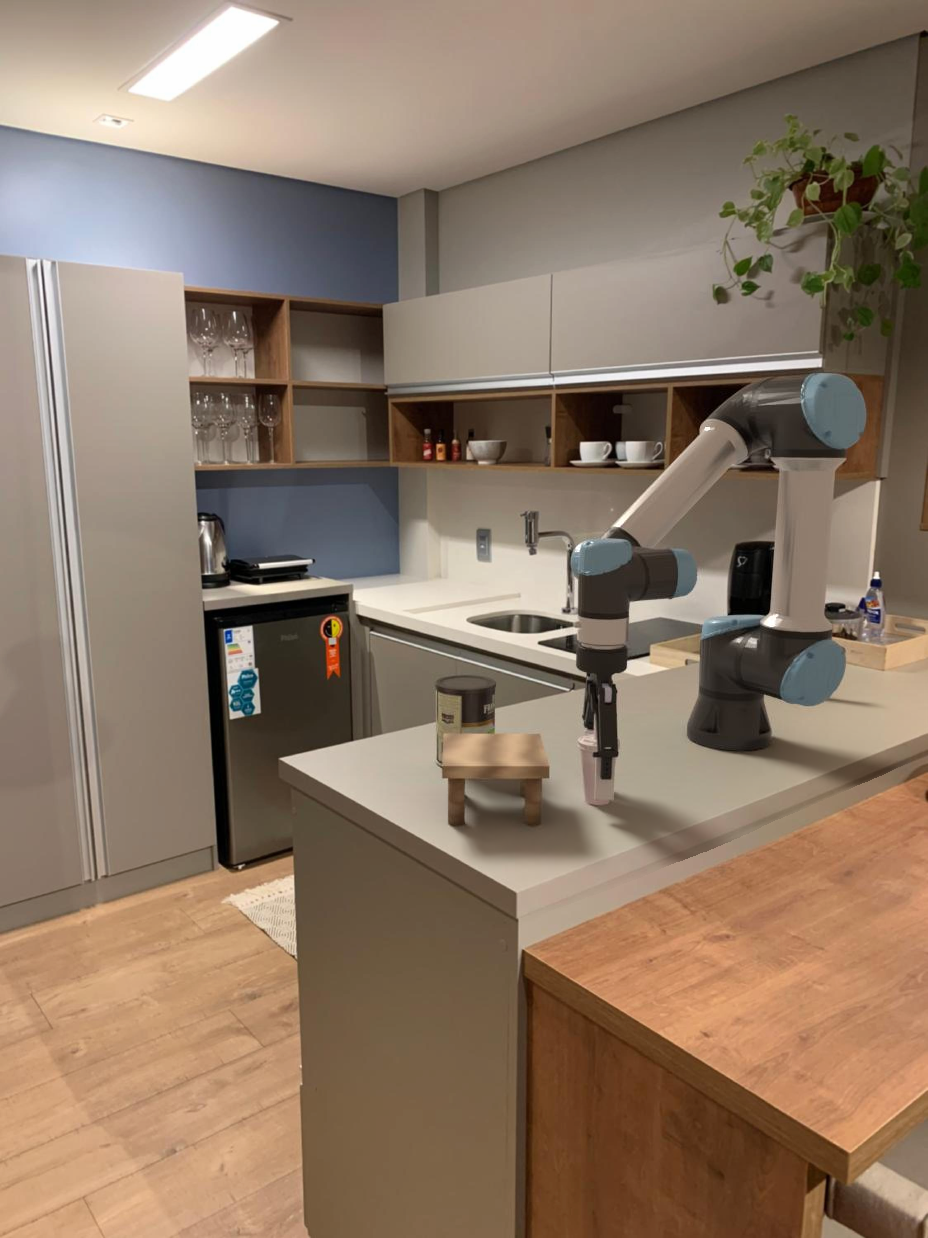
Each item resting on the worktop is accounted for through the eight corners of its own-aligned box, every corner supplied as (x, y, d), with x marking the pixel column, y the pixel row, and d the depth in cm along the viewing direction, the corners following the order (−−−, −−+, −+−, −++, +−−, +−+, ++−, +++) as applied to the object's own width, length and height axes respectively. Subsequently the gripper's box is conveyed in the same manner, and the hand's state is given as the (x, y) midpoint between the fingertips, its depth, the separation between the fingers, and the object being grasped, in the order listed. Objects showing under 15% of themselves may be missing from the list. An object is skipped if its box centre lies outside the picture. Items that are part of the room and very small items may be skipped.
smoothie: (572, 793, 146) (574, 706, 143) (612, 792, 146) (615, 706, 144) (580, 809, 139) (583, 718, 137) (622, 808, 140) (626, 718, 137)
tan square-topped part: (538, 790, 147) (540, 733, 146) (548, 828, 132) (549, 766, 131) (443, 789, 147) (443, 733, 145) (442, 828, 132) (442, 766, 131)
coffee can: (499, 754, 164) (500, 676, 162) (489, 773, 154) (490, 691, 152) (442, 750, 166) (442, 672, 164) (428, 769, 156) (428, 687, 154)
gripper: (567, 628, 150) (564, 757, 154) (588, 662, 127) (583, 813, 130) (613, 628, 150) (609, 757, 154) (643, 662, 127) (637, 813, 131)
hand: (597, 783), depth 142 cm, fingers open, 12 cm apart
